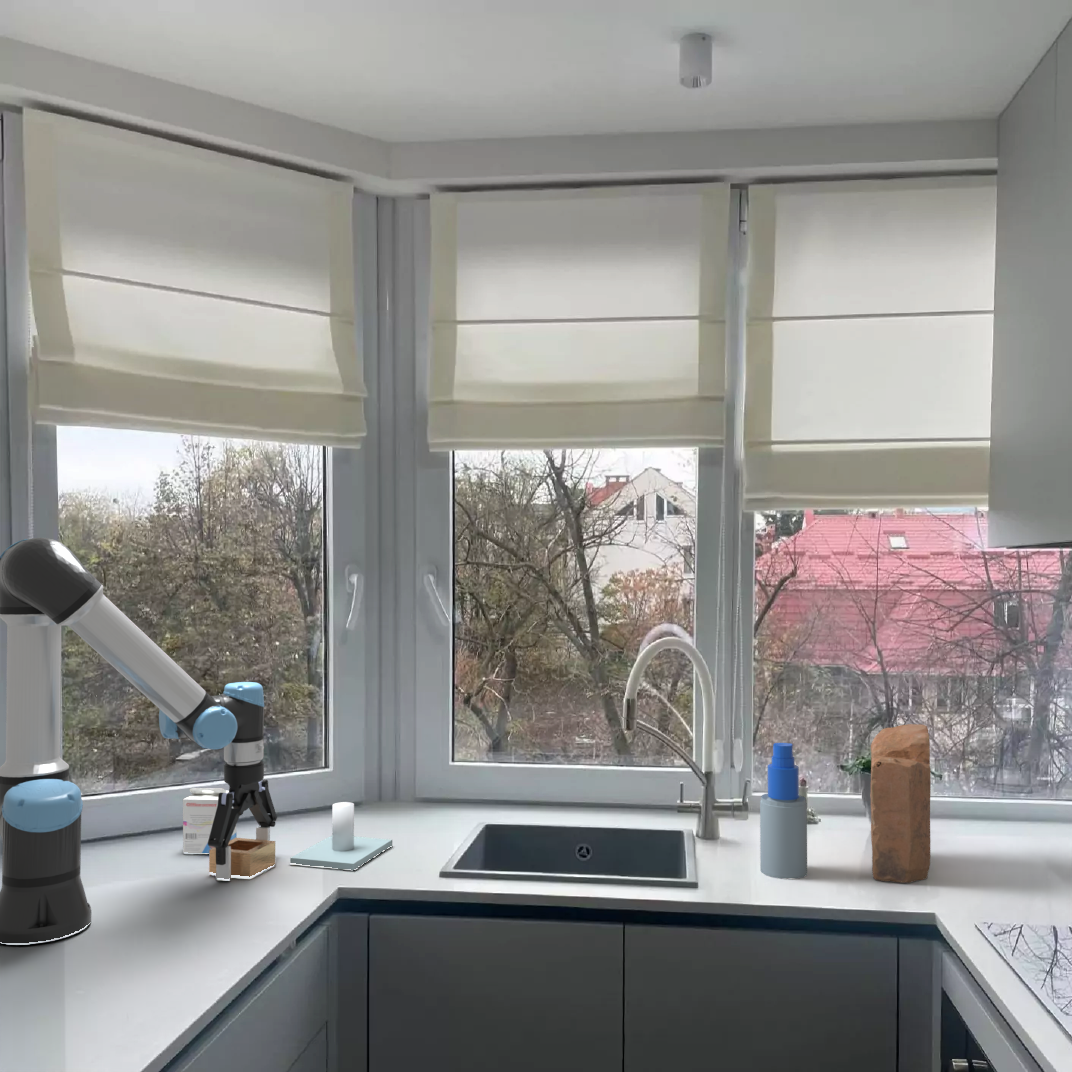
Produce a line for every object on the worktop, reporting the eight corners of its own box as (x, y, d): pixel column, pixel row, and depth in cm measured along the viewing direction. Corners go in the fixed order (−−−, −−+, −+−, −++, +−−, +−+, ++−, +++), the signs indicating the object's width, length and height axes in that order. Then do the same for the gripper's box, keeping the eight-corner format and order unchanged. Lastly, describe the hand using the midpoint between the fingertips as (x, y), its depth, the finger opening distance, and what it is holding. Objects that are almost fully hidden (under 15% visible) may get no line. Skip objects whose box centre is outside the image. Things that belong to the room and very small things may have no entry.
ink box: (237, 844, 214) (238, 782, 214) (221, 856, 205) (222, 790, 206) (199, 843, 214) (199, 781, 215) (181, 855, 206) (182, 790, 207)
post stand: (353, 871, 195) (353, 817, 195) (290, 865, 199) (290, 812, 199) (392, 846, 212) (392, 797, 212) (333, 841, 216) (333, 792, 216)
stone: (935, 888, 184) (933, 735, 186) (871, 882, 188) (869, 732, 190) (928, 860, 205) (926, 722, 207) (870, 855, 208) (869, 720, 210)
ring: (249, 880, 190) (250, 853, 190) (209, 875, 192) (209, 849, 192) (275, 866, 198) (275, 841, 198) (235, 862, 201) (236, 837, 201)
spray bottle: (805, 866, 198) (804, 740, 199) (808, 880, 190) (807, 748, 190) (760, 863, 200) (759, 739, 201) (761, 877, 191) (760, 746, 192)
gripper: (223, 775, 183) (223, 891, 182) (293, 750, 207) (293, 853, 206) (188, 773, 185) (188, 888, 184) (262, 749, 209) (262, 850, 208)
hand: (243, 870), depth 195 cm, fingers open, 13 cm apart
